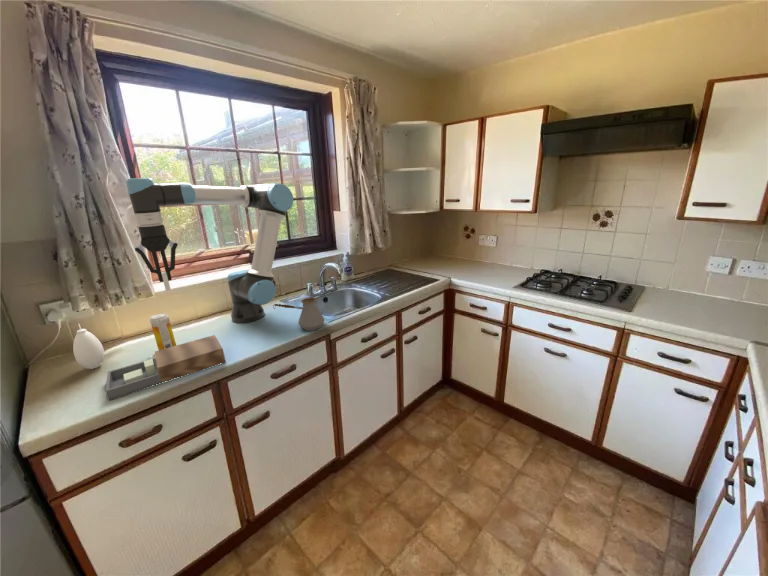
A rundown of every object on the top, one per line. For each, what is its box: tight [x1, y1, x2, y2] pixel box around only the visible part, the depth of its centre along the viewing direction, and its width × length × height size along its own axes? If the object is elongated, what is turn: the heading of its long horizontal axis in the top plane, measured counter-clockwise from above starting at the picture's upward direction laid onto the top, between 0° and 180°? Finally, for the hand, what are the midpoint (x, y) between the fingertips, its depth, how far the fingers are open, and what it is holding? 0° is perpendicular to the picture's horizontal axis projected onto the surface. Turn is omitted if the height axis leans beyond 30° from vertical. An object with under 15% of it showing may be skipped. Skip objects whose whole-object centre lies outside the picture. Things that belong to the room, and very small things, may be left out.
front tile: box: [123, 369, 144, 384], centre depth 111 cm, size 5×5×2 cm
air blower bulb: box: [72, 322, 105, 370], centre depth 119 cm, size 8×8×18 cm
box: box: [105, 357, 163, 401], centre depth 111 cm, size 14×14×4 cm
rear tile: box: [144, 358, 156, 377], centre depth 113 cm, size 5×5×2 cm
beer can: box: [149, 312, 177, 351], centre depth 130 cm, size 6×6×15 cm
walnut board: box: [154, 334, 227, 383], centre depth 120 cm, size 20×14×6 cm
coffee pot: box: [272, 297, 325, 332], centre depth 143 cm, size 21×12×15 cm, turn 126°
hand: (168, 289), depth 121 cm, fingers closed
